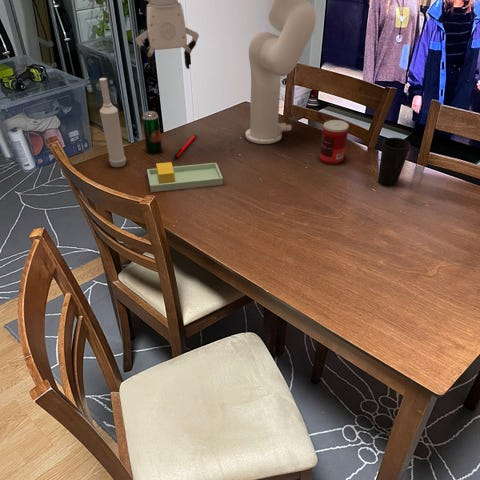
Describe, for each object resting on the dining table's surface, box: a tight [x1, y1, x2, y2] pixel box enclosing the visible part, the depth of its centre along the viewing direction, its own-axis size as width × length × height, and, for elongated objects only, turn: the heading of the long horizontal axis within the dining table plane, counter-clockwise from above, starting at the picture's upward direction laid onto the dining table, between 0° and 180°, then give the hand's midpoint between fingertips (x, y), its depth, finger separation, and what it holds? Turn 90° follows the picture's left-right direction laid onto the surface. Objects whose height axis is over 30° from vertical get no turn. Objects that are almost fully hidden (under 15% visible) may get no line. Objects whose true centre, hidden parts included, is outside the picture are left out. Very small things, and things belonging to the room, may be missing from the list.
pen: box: [173, 134, 197, 160], centre depth 158 cm, size 1×19×1 cm, turn 163°
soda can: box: [141, 110, 163, 154], centre depth 153 cm, size 5×5×12 cm
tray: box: [146, 162, 224, 193], centre depth 142 cm, size 21×10×2 cm, turn 103°
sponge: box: [155, 161, 175, 184], centre depth 140 cm, size 4×7×4 cm, turn 13°
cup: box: [377, 137, 412, 188], centre depth 139 cm, size 8×8×12 cm
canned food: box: [319, 119, 350, 165], centre depth 150 cm, size 8×8×11 cm
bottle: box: [99, 77, 127, 168], centre depth 142 cm, size 5×5×25 cm
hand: (170, 69), depth 136 cm, fingers open, 9 cm apart
